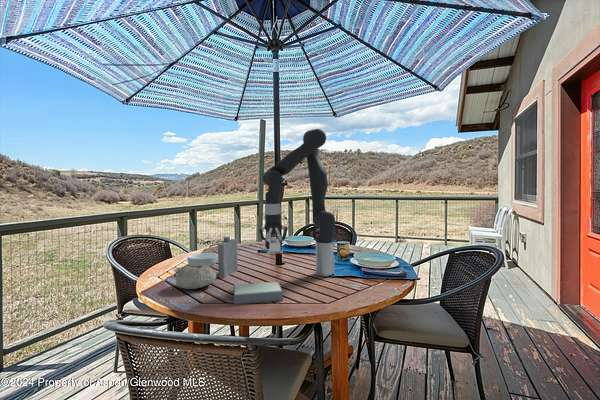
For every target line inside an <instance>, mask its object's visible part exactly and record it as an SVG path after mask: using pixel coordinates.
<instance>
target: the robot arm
mask: <svg viewBox="0 0 600 400" xmlns="http://www.w3.org/2000/svg"><path fill="white" fill-rule="evenodd" d="M326 141H327V134H326V132H325V131H324V130H323V129H321V128H316V129H311V130H307V131H306V132H305V133H303V137H302V142H303V143H302V144H301V145H299V146H298V147H297V148H295V149H293V150H292V151H291V152H289V153H287V154H286V155H285V156H284V157H283V158H282V159H281V160H280V161H278V163H276V164H275V165H273V166H272V167H271V168H268V170H266V171H265V173H263V175H262V183H263V184H264V185H265V186H268V189H267V191H266V192H265V195H264V196H265V197H264V198H265V205H264V220H265V221H264V226H263V227H258V231H259V234H260V238H261V241H265V245H264V247H266V248H267V249H269V241H268V240H269V239H270V238H271V236H272V235H276V236H277V239H278V240H279V241H280V247H281V248H282V247H283V244H282V243H283V242H282V241H283V240H285V239H287V234H288V229H289V227H287V226H284V225H282V208H281V192H282V186H283V176H285V175H288V174H289V173H290V172H291V171H293V170H294V169H295V168H296V167H297V166H298V165H299V164H300V163H301V162H302V161H304V159H306V162H307V171H308V180H309V186H310V188H309V189H310V195H311V196H310V197H311V204H312V205H311V206H312V210H311V211H312V223H313V225H314V226H315V227H316V228H319V232H318V235H316V236H315V275H316V276H320V277H330V276H329V275H331V276H333V275H332V274H334V275H335V256H334V239H335V234H336V218H335V215H334V213H332V212H330V211H327V210H326V206H325V205H326V203H325V199H326V196H327V195H326V194H327V191H328V186H329V181H328V174H327V171H326V169H325V166H324V164H323V163H322V161H321V159H320V155H319V148H322V147H323V146H324V145H325V143H326ZM281 230H282V236H281V233H280V231H281ZM264 231H266V234H265V235H266V236H264Z"/></svg>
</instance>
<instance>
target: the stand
mask: <svg viewBox="0 0 600 400" xmlns="http://www.w3.org/2000/svg"><path fill="white" fill-rule="evenodd" d="M277 301H280V302H281V301H284V291H283V288H282V286H281V285H280V283H279V281H270V282H257V283H241V284H234V285H233V305H240V304H241V305H243V304H253V303H254V304H255V303H265V302H266V303H268V302H277Z"/></svg>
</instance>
